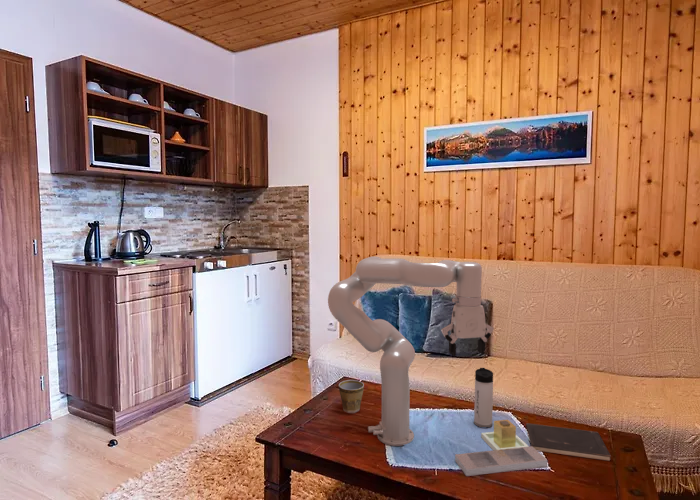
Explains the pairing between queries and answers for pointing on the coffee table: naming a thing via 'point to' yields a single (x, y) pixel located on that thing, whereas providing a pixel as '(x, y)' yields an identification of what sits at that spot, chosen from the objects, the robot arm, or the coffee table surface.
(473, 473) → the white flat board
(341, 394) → the ceramic cup
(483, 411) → the travel mug
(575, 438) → the hardcover book
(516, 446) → the tray
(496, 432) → the block
